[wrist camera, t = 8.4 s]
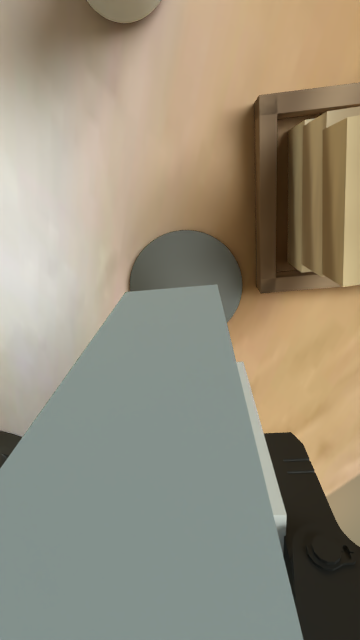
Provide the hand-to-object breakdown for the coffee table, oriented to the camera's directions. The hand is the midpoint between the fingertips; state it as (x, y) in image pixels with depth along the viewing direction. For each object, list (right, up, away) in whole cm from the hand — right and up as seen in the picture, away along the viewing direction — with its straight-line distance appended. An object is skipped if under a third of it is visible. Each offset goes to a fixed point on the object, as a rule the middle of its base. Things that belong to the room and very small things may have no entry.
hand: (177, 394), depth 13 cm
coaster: (+1, +6, +16) cm, 17 cm away
